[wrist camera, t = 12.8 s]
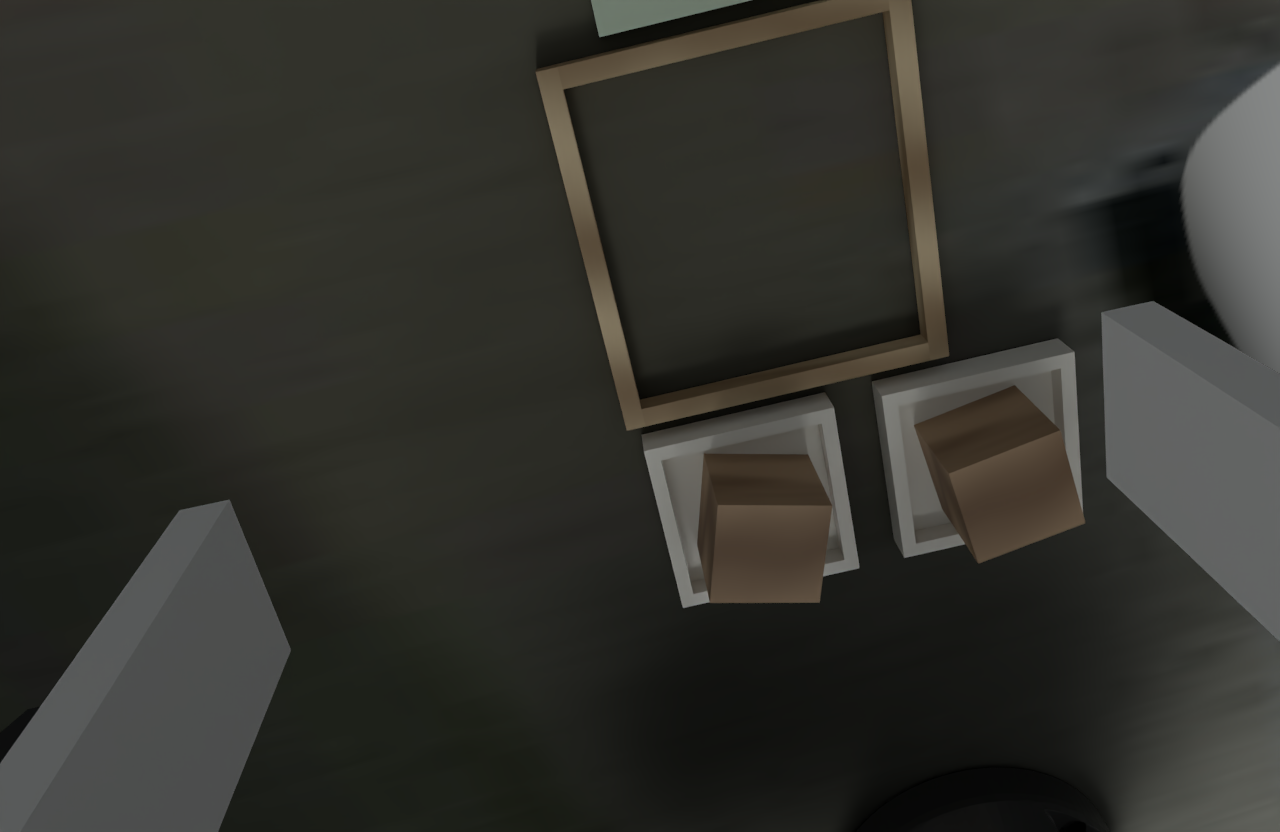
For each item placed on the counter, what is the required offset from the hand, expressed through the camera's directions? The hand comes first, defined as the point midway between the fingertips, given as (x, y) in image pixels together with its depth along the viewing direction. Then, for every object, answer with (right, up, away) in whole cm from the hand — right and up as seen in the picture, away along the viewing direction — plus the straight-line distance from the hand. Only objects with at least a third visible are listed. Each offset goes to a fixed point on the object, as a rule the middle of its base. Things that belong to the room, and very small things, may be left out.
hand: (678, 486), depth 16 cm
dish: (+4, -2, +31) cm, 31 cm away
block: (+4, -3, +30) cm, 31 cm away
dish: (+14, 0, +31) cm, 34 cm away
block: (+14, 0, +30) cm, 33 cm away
